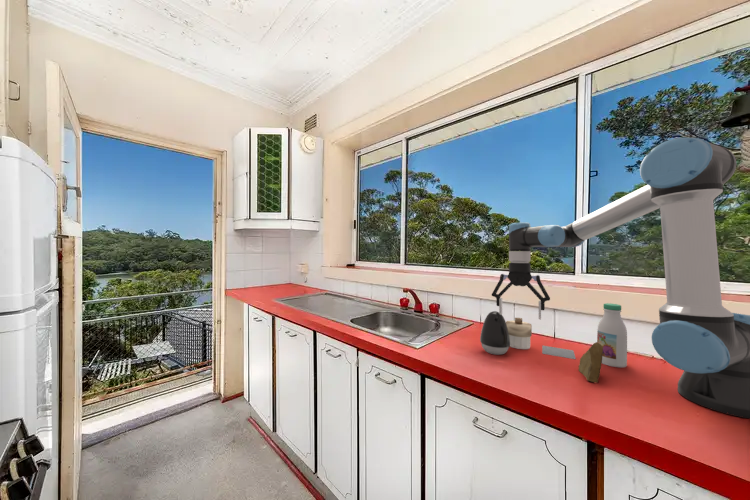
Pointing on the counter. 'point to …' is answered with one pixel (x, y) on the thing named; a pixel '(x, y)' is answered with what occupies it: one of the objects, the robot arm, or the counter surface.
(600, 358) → the rock
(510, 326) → the lid
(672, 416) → the counter surface
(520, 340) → the bowl
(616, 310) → the milk bottle
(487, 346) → the black egg-shaped device
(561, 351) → the mat
